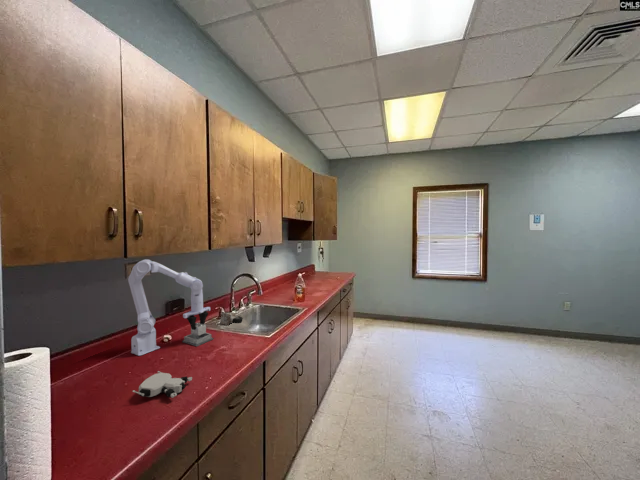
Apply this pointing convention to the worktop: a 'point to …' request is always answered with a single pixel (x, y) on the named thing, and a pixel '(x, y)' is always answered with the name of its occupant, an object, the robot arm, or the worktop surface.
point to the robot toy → (162, 385)
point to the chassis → (197, 339)
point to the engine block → (199, 329)
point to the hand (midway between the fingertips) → (197, 327)
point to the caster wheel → (230, 318)
